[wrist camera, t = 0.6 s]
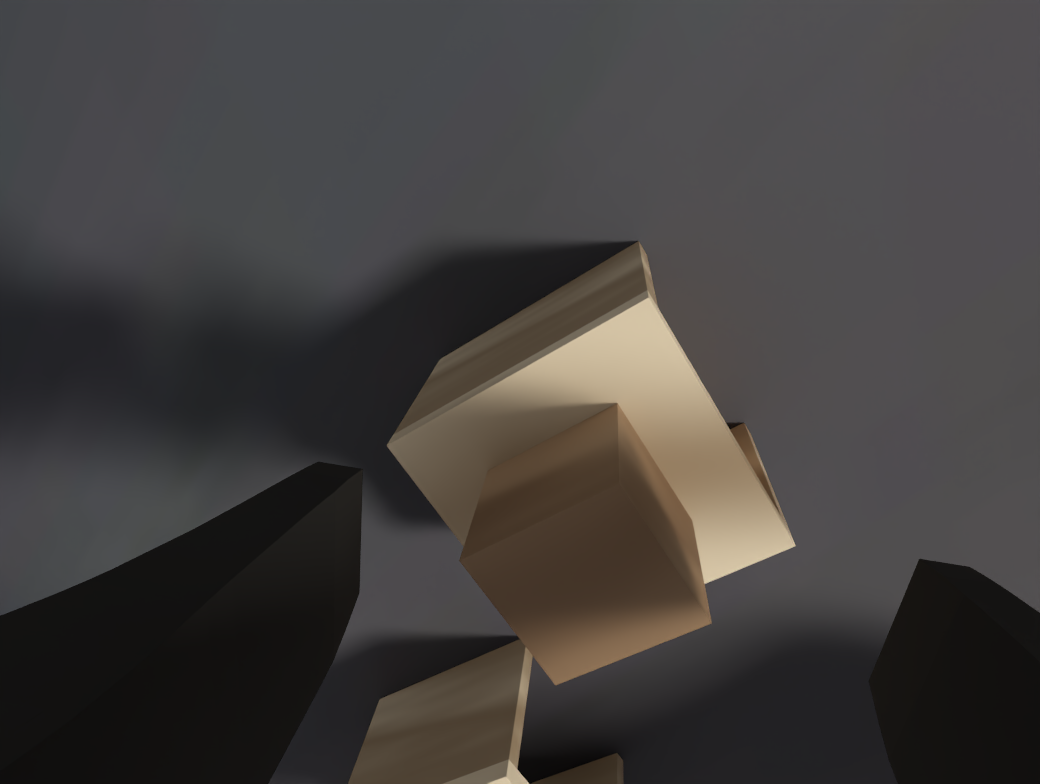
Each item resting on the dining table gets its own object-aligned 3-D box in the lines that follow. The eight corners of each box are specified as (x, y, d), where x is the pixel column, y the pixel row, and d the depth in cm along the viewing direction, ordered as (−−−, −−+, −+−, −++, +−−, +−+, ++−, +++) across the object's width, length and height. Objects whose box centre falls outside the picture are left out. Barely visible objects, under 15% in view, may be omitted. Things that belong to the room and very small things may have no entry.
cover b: (750, 434, 19) (839, 655, 12) (558, 526, 21) (530, 766, 13) (638, 240, 17) (659, 356, 10) (439, 359, 19) (334, 529, 12)
